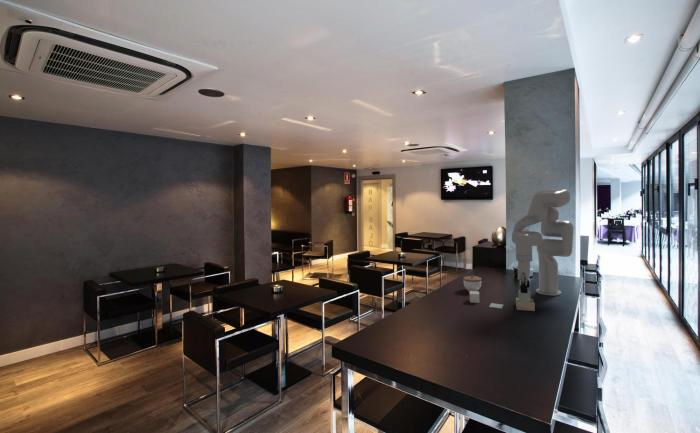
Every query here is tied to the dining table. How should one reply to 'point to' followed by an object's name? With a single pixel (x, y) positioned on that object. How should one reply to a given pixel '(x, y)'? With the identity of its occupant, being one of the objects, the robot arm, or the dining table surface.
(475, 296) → the offwhite cube
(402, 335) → the dining table surface
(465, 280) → the lidded jar
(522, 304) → the tan square block
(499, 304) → the sage swatch
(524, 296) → the sage cube
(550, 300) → the dining table surface
